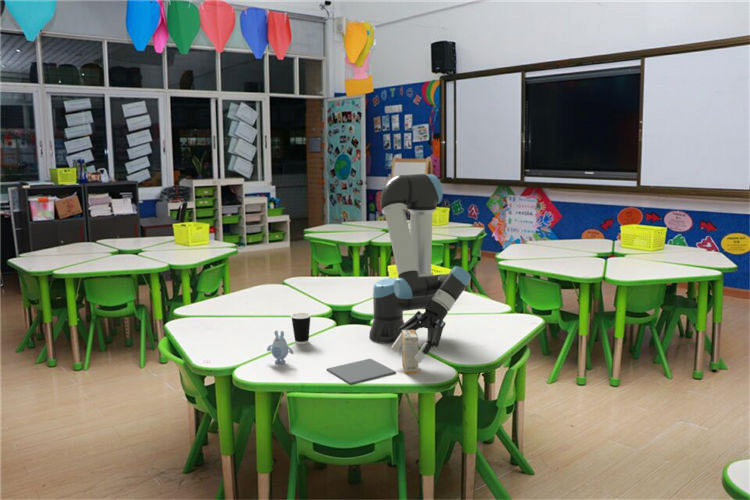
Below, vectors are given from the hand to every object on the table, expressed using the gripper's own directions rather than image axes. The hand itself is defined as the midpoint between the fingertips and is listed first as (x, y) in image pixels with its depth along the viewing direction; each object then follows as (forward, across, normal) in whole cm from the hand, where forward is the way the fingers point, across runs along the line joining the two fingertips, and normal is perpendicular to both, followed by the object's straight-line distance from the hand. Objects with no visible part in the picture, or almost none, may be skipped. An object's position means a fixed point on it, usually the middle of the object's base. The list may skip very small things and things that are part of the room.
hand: (404, 355), depth 221 cm
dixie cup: (+14, -49, -6) cm, 52 cm away
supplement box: (+3, 0, +6) cm, 6 cm away
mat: (+13, -8, -5) cm, 16 cm away
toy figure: (+26, -32, -18) cm, 46 cm away
